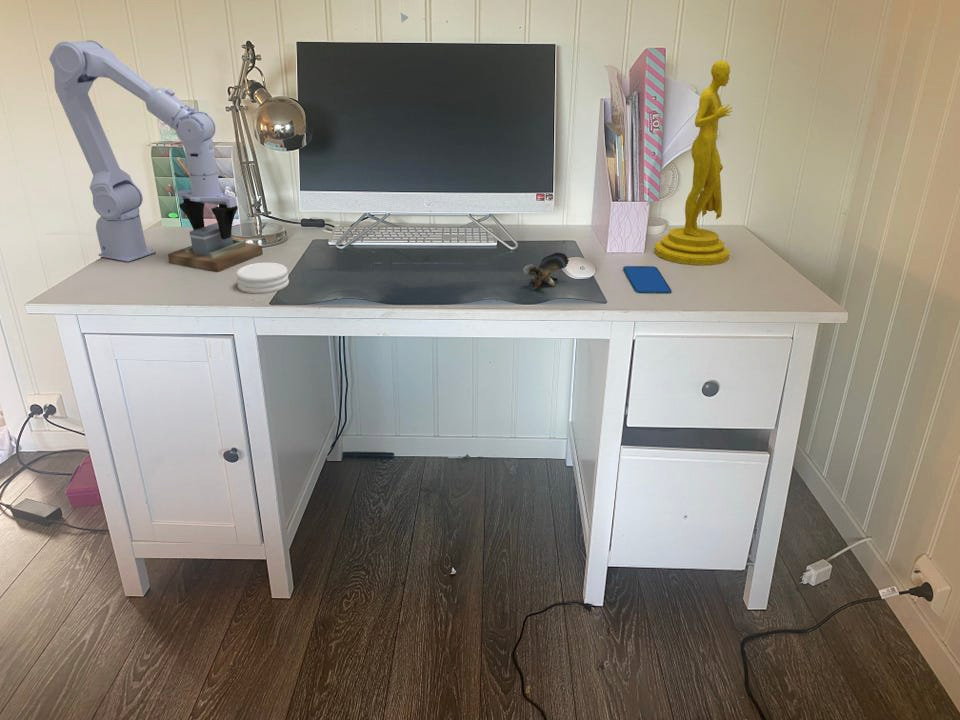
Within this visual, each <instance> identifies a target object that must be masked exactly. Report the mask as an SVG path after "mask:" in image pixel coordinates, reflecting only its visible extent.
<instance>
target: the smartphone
mask: <svg viewBox="0 0 960 720" xmlns="http://www.w3.org/2000/svg"><path fill="white" fill-rule="evenodd" d="M622 271H623V273H624V275H625V277H626V278H627V280H628V282H629V284H630V285H631V287H632V289H633V291H634V292H635V293H636V294H659V295H660V294H666V295H667V294H672V289H671V287H670V286H669V284H668V283H667V281H666V280H665V278H664V276H663V275H662V273H661V272H660V270H659V269H658V267H656V266H653V265H651V266H650V265H649V266H648V265H647V266H646V265H645V266H644V265H641V266H640V265H626V266H623V268H622Z"/></svg>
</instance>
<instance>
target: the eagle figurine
mask: <svg viewBox="0 0 960 720" xmlns="http://www.w3.org/2000/svg"><path fill="white" fill-rule="evenodd" d="M568 258H569V257H568V256H567V255H566V253H562V252H554V253H552V254H550V255H547V256H545V257H543V258H542V259H541V261H540V263H539V265H538V267H537V266H535V264H528V265H526V266H524V267H523V268H522V271H523V274H524V275H526V276H530V277H531V276H534V279H533V278H529V280H530V281H531V282H534V288H533V289H536V290H537V289H538V288H540V286H541V284H542V282H545V283H548V284H549V285H551V286H552V287H553V286H554V285H555V281H554V280H558V279H559V278H557V277H555V276H553V275H552V273H553V272H557V271H559V270H563V269H566V268H567V265H568V264H569V261H570V260H569V259H568ZM553 279H554V280H553Z"/></svg>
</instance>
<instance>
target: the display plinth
mask: <svg viewBox="0 0 960 720" xmlns="http://www.w3.org/2000/svg"><path fill="white" fill-rule="evenodd" d="M232 239H233V245H230V246H227V247H224V248H222V249H219V250H216V251H213V252H210V253H209V256H202V255H196V254H193V248H192V245H190V246H187V247H184V248H181V249H178V250H176V251H173V252H169V253H167V257H168V262H169V264H173V265H174V264H175V265H180V266H185V267H189V268H194V269H195V268H196V269H200V270H205V271H206V270H207V271H211V272H216V273H219V272H221V271H224V270H227V269H229V268H232V267H234V266H237V265H239V264H241V263H244V262H246V261H249V260H252V259H254V258H256V257H259V256H262V255H263V253H264V252H263V246H262V245H261V244H255V243H254V244H253V243H247V242H245V240H244V239H239V238H233V237H232Z"/></svg>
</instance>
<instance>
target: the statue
mask: <svg viewBox="0 0 960 720" xmlns="http://www.w3.org/2000/svg"><path fill="white" fill-rule="evenodd" d="M730 66H731V65H730V64H729V62H728V61H725V60H718V61H716V62H714V63H713V65H712V66H711V70H710V72H711V73H710V75H711V76H712V79H711V83H710V85H709V86H708V87H707V88H705V89H704V90H703V91H702V92H701V94H700V97H699V104H698V110H697V113H696V116H695V120H694V126H695V127H696V128H699V132H698V134H697V136H696V137H695V139H694V140H693V143H692V145H691V157H692V161H693V174H692V187H691V190H690V192H689V193H688V195H687V198H686V200H685V206H684V207H685V208H684V214H685V224H684V227H676V228H672V229H670V230H669V231H668V233H667V234H666V235H663V236H662V238H661V240H659V241H657V242H656V243H655V244H654V248H653V253H655V255H656V256H658V257H659V258H661V259H664V260H666V261H668V262H673V263H677V264H683V265H691V266H692V265H693V266H712V265H718V264H723V263H725V262H727V261H729V257H730V250H729V249H728V248H727V247H726V246H725V242H724V241H723V240H721V239H720V237H719V236H720V235H719V234H718V233H717V232H715V231H712V230H709V229H706V228H699V227H698V222H697V221H698V217H699V216H700V214H701V215H702V216H701V217H702V218H703V217H704V216H705V215H707V212H714V213H716V216H715V220H717V219H720V218H721V217H722V212H723V211H722V209H723V202H722V201H723V199H722V185H721V174H720V173H721V172H722V170H723V169H724V167H723V164H722V163H721V157H720V153H719V151H718V148H717V138H718V127H719V119H721V118H725V117H729V116H731V114H730V113H732V112H733V110H731V109H733V106H730V105H731V103H728V104H727V105H724V104H722V101H721V96H720V95H719V93H718V91H719V89H720V87H726V86H727V84H728V83H729V80H730V73H731V67H730ZM724 106H725V107H724ZM729 106H730V107H729Z"/></svg>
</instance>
